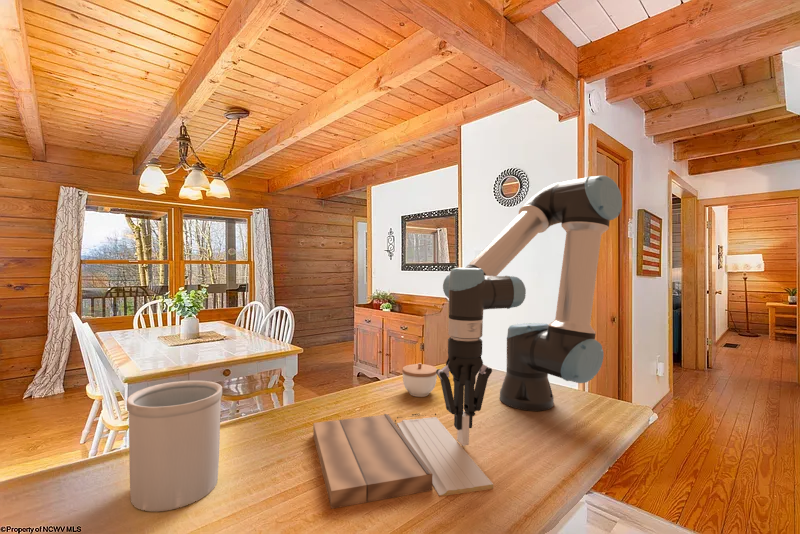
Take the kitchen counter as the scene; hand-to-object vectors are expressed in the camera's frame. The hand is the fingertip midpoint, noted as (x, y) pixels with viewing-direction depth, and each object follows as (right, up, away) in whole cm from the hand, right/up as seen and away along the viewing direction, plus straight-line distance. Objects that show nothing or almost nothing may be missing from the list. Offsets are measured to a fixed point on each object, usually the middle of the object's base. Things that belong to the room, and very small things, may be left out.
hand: (462, 442), depth 89 cm
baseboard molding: (-7, -2, -2) cm, 7 cm away
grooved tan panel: (-21, -1, -6) cm, 22 cm away
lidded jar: (-8, 0, +34) cm, 35 cm away
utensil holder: (-54, -1, -17) cm, 57 cm away
